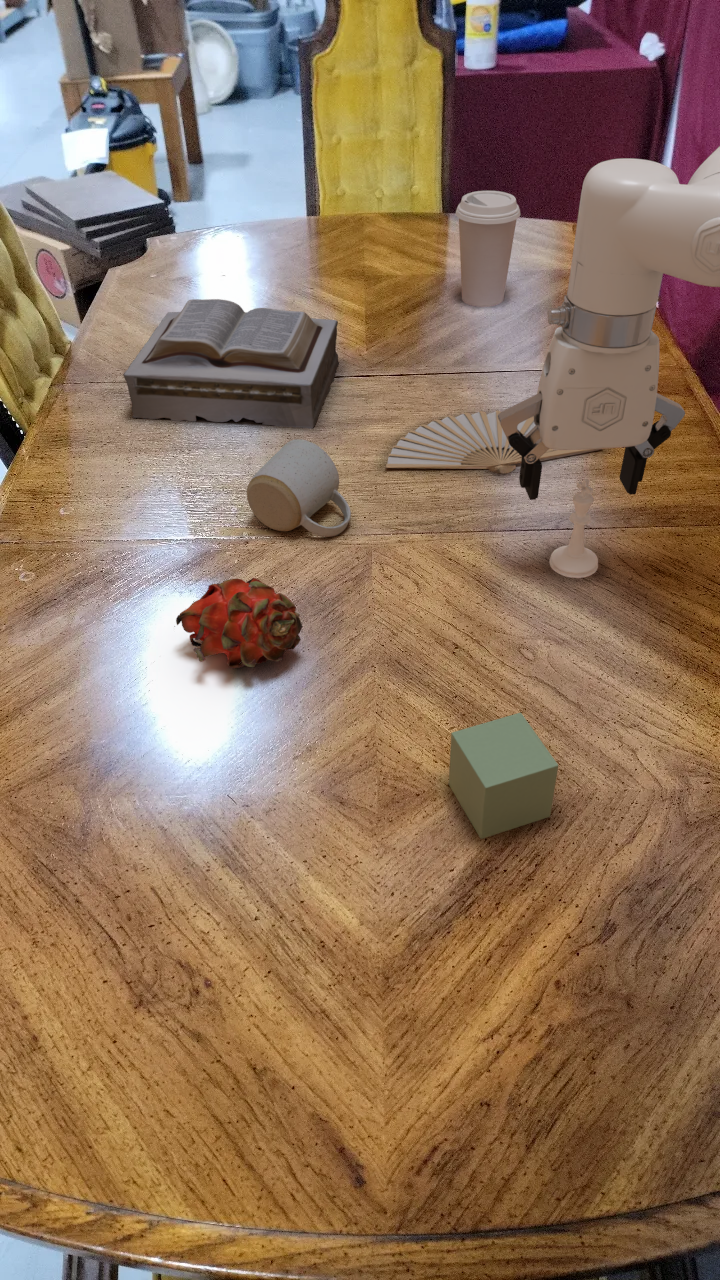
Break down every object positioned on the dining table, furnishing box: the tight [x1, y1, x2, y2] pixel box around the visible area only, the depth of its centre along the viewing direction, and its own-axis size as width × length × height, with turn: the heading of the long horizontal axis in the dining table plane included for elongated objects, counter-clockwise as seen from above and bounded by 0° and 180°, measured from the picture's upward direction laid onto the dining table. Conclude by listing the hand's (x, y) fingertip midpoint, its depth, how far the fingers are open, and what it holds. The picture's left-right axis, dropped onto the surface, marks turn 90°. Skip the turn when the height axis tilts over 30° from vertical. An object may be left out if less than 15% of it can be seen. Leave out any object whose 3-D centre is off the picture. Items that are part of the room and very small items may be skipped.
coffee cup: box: [455, 190, 521, 308], centre depth 150 cm, size 10×10×15 cm
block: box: [448, 712, 559, 840], centre depth 76 cm, size 6×6×6 cm
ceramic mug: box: [246, 438, 352, 538], centre depth 107 cm, size 11×8×8 cm
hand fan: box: [385, 410, 603, 475], centre depth 120 cm, size 26×1×15 cm
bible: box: [123, 298, 340, 430], centre depth 130 cm, size 23×27×10 cm
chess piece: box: [549, 478, 599, 579], centre depth 99 cm, size 5×5×10 cm
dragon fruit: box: [173, 577, 304, 670], centre depth 90 cm, size 8×8×12 cm
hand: (578, 489), depth 96 cm, fingers open, 9 cm apart
